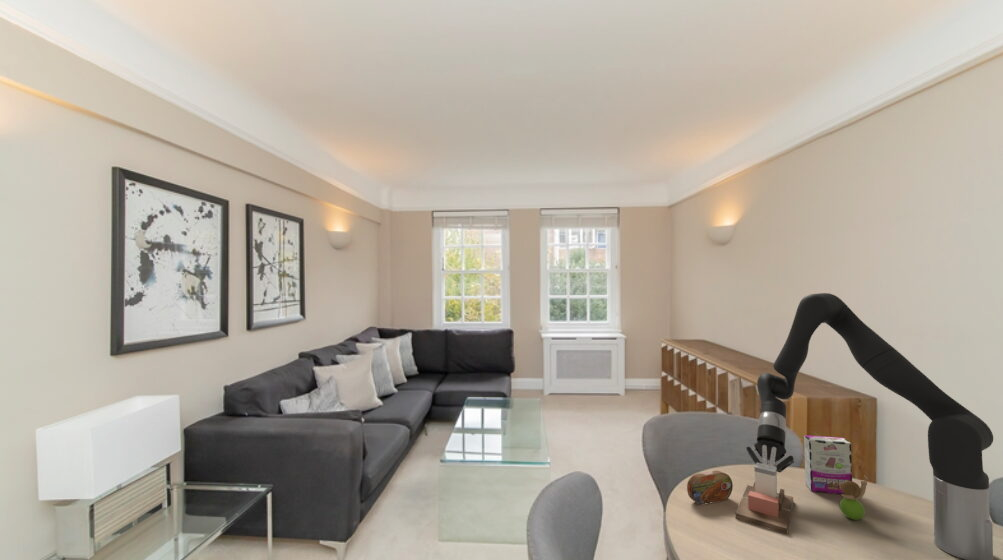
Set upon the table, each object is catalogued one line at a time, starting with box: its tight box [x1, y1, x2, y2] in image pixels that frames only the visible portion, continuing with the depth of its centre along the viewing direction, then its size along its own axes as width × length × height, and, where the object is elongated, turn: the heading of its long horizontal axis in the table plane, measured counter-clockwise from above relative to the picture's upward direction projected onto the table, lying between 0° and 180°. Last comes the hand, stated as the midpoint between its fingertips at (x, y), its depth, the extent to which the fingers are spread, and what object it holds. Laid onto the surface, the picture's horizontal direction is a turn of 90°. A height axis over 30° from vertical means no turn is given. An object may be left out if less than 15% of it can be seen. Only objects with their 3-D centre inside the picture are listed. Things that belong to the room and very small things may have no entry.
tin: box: [686, 470, 734, 506], centre depth 126 cm, size 15×3×8 cm, turn 105°
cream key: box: [754, 462, 778, 498], centre depth 122 cm, size 5×4×10 cm
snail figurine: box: [839, 475, 868, 521], centre depth 116 cm, size 5×6×12 cm
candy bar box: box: [803, 434, 853, 496], centre depth 131 cm, size 11×5×16 cm, turn 73°
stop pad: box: [748, 491, 779, 518], centre depth 118 cm, size 7×3×4 cm, turn 51°
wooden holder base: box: [735, 481, 794, 535], centre depth 121 cm, size 12×20×4 cm, turn 141°
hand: (767, 482), depth 124 cm, fingers closed
